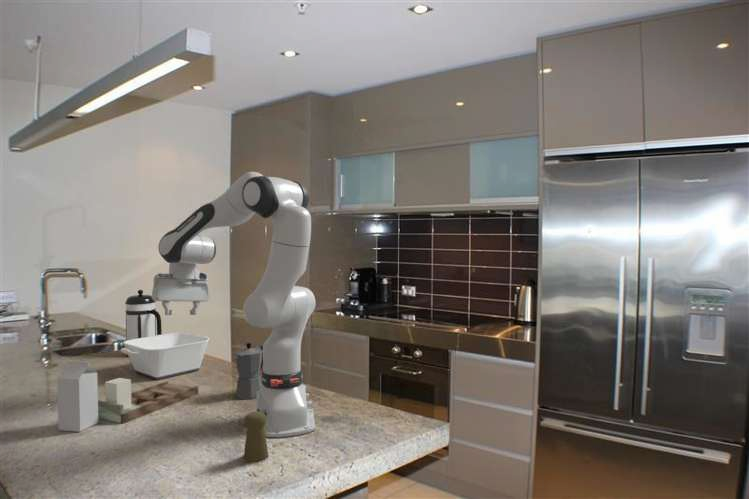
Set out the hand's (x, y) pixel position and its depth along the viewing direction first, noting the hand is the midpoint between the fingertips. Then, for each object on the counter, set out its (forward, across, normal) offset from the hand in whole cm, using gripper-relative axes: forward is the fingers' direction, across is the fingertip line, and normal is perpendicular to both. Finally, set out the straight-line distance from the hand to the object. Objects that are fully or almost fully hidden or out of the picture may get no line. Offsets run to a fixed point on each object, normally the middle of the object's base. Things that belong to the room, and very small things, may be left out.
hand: (180, 315), depth 174 cm
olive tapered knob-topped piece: (+34, -14, -57) cm, 68 cm away
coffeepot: (+27, +18, -17) cm, 37 cm away
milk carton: (+32, -31, 0) cm, 44 cm away
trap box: (+29, -9, +3) cm, 30 cm away
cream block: (+28, -19, 0) cm, 34 cm away
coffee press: (+19, +27, +70) cm, 77 cm away
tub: (+23, +17, +34) cm, 44 cm away
